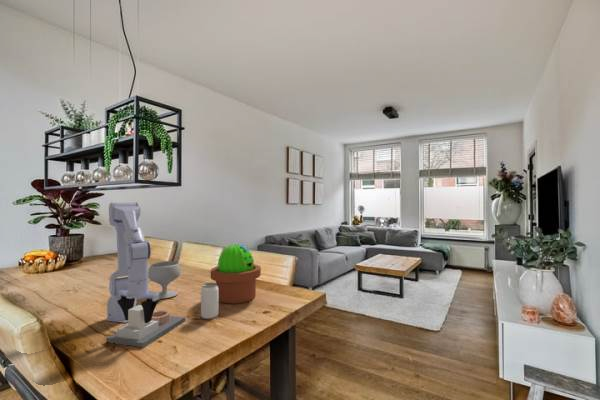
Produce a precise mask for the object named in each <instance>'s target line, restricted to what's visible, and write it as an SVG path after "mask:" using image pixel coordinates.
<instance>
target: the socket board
mask: <svg viewBox="0 0 600 400" xmlns="http://www.w3.org/2000/svg"><path fill="white" fill-rule="evenodd" d="M185 322H186V317H184V316H174V315H171V311H169V310H166V309H165V310H164V309H162V310H154V312H153V315H152V319H151V321H150V324H149V325H147V326H145V327H143V328H141V329H140V330H136V329H128V323H127V324H126V323H125V324H124V325H122V326H121V327H118V328H117V329H116V332H115V333H113V334H111V335H109V336H107V337H106V339H105V340H106V343H107V342H109V343H108V344H113V343H115V344H114V345H120V344H123V345H122V346H126V345H131V346H130V347H133V346H137V347H136V348H139V347H144V348H146V347H148V344H149V345H151V344H152V343H153V341H154V342H155V341H157V340H158V339H160V338H161V337H163V336H165V335H167V333H169V332H171V331H172V330H174V329H176V328H178V325H179V326H180V325H182V324H183V323H185ZM175 327H176V328H175ZM164 334H165V335H164ZM145 346H146V347H145Z"/></svg>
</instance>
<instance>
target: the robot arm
mask: <svg viewBox="0 0 600 400" xmlns="http://www.w3.org/2000/svg"><path fill="white" fill-rule="evenodd" d="M140 216H141V205H140V203H139V202H110V203H109V206H108V220H109V221H108V222H109V225H110V226H113V227H114V229H115V232H116V249H117V269H116V271H114V272H113V273H111V275H109V284H108V285H109V287H108V288H109V295H110V296H109V298H108V299H107V303H106V307H107V308H106V314H107V315H106V318H104V319H105V321H108V322H115V323H122V324H126V323H128V310H129V309H131V308H133V307H135V306H137V299H139V300H145V301H142V302H140V305H142V307H143V311H144V321H145V323H148V322H150V321H151V319H152V315H153V312H155V309H156V307H157V305H158V303H159V301H160V299H159V293H156V292H154V291H151V290H149V278H148V270H149V259H150V258H151V254H152V247H151V244H150V242H149V240H147V239H145V235H144V232H143V229H142V228H141V227H138V220H140Z"/></svg>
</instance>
